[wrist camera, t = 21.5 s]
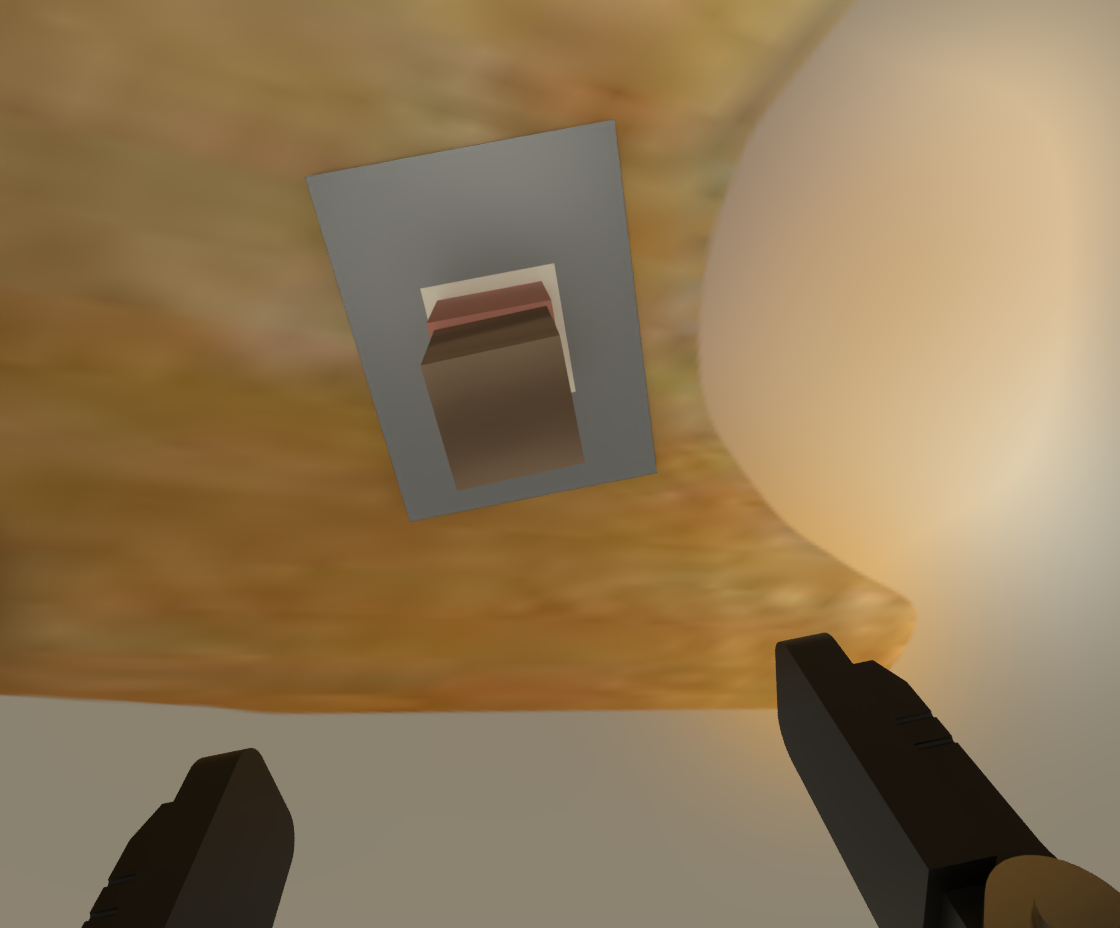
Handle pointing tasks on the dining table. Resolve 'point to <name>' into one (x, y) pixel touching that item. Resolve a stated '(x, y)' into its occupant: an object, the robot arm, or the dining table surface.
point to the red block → (488, 305)
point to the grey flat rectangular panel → (488, 264)
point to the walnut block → (502, 398)
